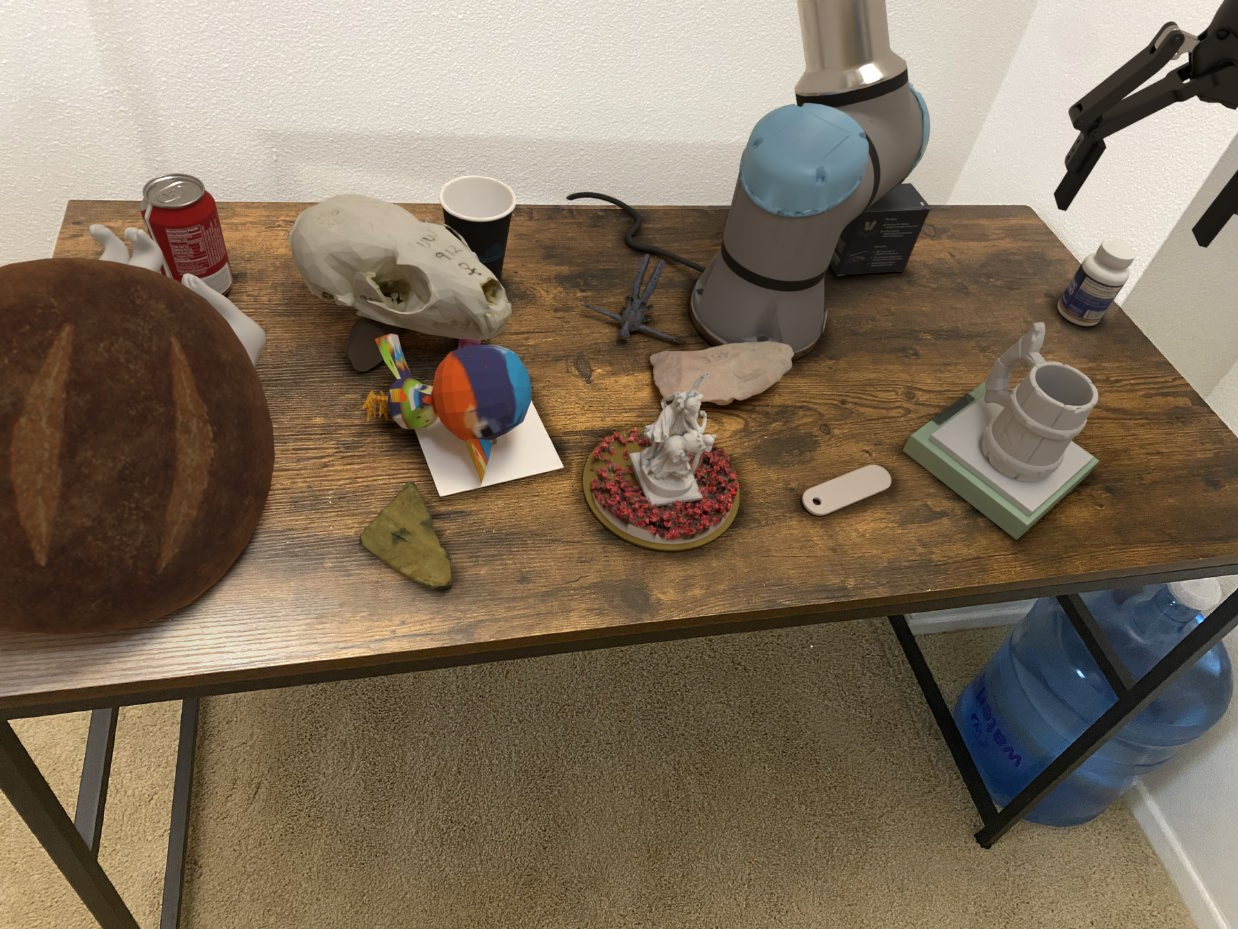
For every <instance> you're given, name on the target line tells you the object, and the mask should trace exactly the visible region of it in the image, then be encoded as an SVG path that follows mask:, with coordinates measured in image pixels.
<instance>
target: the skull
mask: <svg viewBox="0 0 1238 929" xmlns="http://www.w3.org/2000/svg"><path fill="white" fill-rule="evenodd" d="M445 226H446V227H449V226H447V225H445V223H444V222H440V221H435V222H431V219H430V217H426V218H424V219H422V221H421V220H419V219H418V218H417V217H416V216H415V215H414V214H412V213H411V212H409V211H408V210H406V209H405V208H404V207H402V206H401V205H399V204H396V203H392V202H388V201H384V200H380V199H377V198H374V197H370V196H367V195H365V194H358V193H343V194H342V193H341V194H335V195H333V196H331V197H329V198H327V199H325V200H323V201H321V202H319V203H317V204H315V205H313V206H308V207H307V208H305V209H304V210H302V211H301V212H300V213H299V214H298V215H297V217H296V219H295V221H294V224H293V225H292V227H291V228H290V230H289V232H288V244H289V247H290V250H291V256H292V258H291V259H292V261H293V265H294V267H295V268H296V270H297V272H298V273H299V275H300V276H301V278H302V280H303V281H304V283H305V284H306V286H307V288H308V290H309V292H311V293H312V294H313V295H315V296H316V297H318V298H319V299H321V300H323V301H325V302H330V301H335V303H336V306H340V307H341V306H344V307H353V308H354V309H356V310H355V315H356V316H360V317H361V316H363V317H366V318H370V319H373V320H376V321H379V322H381V323H384V324H388V325H393V326H397V327H400V328H403V329H406V330H412V331H416V332H419V333H423V334H427V335H431V336H438V337H446V338H451V339H452V338H453V339H458V340H459V339H476V340H481V341H483V340H485V341H486V342H487V341H488V340H489V339H494V338H496V337H498V336H499V335H500V334H502V333H503V331H504V330H505V328H506V327H507V324H508V322H509V321H510V319H511V316H512V314H513V308H512V303H511V302H510V301H509V299H508V296H507V294H506V289H505V288H504V286H503V285H502V283H501V282H500V280H499V281H498V280H497V278H496V277H495V275H494V274H493V273H492V272H491V271H490V270H489V269H488V268H487V267H485V266H484V265H483V264H482V263H481V262H479V259H478V257H477V255H476V253H474V252H472V251H471V250H470V248H469V247H468V245H467V243H466V241H465V240H464V239H463V237H462V236H461V235H459V234H458V233H457V232H456V231H455V230H453V229H452V228H451V229H452V230H453V231H454V232H455V234H456V235H457V236H459V237H460V238H461V241H462V242H461V241H460V240H459V239H457V238H456V237H455V236H454V235H453V234H452V233H450V232H449V231H448V230H447V229H446V228H445ZM449 228H450V227H449ZM381 292H383V293H387V292H393V293H392V294H391V296H392V298H393V300H394V302H393V301H392V298H390V297H386V296H384V295H383V294H382V293H381ZM398 293H399V295H400V300H404V301H403V302H401V303H399V304H397V301H396V298H397V297H398ZM400 293H401V294H400ZM357 310H358V311H357Z"/></svg>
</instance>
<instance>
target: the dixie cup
mask: <svg viewBox="0 0 1238 929" xmlns="http://www.w3.org/2000/svg"><path fill="white" fill-rule="evenodd" d="M438 201H439V204H440V206H441V208H442V213H443V214H442V215H443V220H444V224H445V225H447V226H449V227H450V228H449V227H446V226H444V227H445V228H446V229H447V230H448V231H449V232H450V233H452V234H453V235H454V236H455V237H456V238H457V239H459V240H460V241H461V238H460V237H459V236H457V235H456V234H455V232H454V231H453V230H455V231H456V232H457V233H458V234H459V235H461V236H462V237H463V239H464V240H465V241H466V243H467V245H468V247H469V248H470V250H471V251H472V252H474V253H476V255H477V257H478V259H479V262H481V263H482V264H483V265H484V266H485V267H487V268H488V269H489V270H490V271H491V272H492V273H493V274H494V275H495V277H496V278H497V280H498V281H499V282H500V281H501V279H502V274H503V267H504V262H505V258H506V256H505V255H506V251H507V246H508V238H509V233H510V228H511V227H510V226H511V222H512V216H513V211H514V210H515V207H516V205H517V197H516V194H515V192H514V190H513V189H512V188H511V187H510V186H509V185H508V184H506V183H505V182H503V181H502V180H499V179H497V178H493V177H490V176H485V175H476V174H475V175H474V174H473V175H464V176H459V177H456V178H453V179H450V180H449V181H447V182H446V183H445V184H443V185H442V187H441V188H440V190H439V192H438ZM451 228H452V229H453V230H452V229H451ZM461 242H462V241H461Z"/></svg>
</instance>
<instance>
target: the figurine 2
mask: <svg viewBox="0 0 1238 929" xmlns="http://www.w3.org/2000/svg"><path fill="white" fill-rule="evenodd" d="M655 258H657V256H655ZM650 259H651V255H650V254H649V253H646V254H644V257H643V258H642V260H641V262H640V265H639V267H638V269H637V272H636V274H635V276H634V279H633V281H632V286H631V295H630V296H629V295H626V296H624V299H625V301H626V307H625V306H621V307H620V310H621V314H622V315H619V314H616V313H614V312H610V311H607V310H605V309H602V308H598V307H595V306H592V305H591V304H590V303H589V302H587V301H585V303H586V304H584V303H579V305H580V306H582V307H585V308H587V309H590V310H591V309H592V310H593V311H595V312H596V313H598V314H601V315H604V316H606V317H608V318H611V319H612V320H614V321H616V322H618V323H619V324H620V326H621V328H620V330H619V331H618V333H617V336H618V338H620V339H621V340H629V338H630V335H631V334H630V332H635V331H642V332H646V333H649V334H653V335H655V336H657V337H661V338H665V339H669V340H670V341H672V342H674V343H678V344H682V341H678V340H677V336H669V335H668V334H666V333H664V332H661V331H659V330H656V329H654V328H651V327H649V326H647V325H645V324H644V323H650V321H652V317H651V316H647V315H646V316H644V313H647V312H650V311H652V310H653V309H654V305H653V304H648V305H647V303H648V301H649V299H651V297H652V295H653V294H654V292H655V291H656V289H657V286H658V283H659V280H660V277H661V274H662V272H663V268H664V265H665V259H659V260H658V261H657V263H656V265H655V267H654V269H653V270H652V273H651V275H650V277H649V279H648V281H647V283H646V285H645V287H644V289H643V291H642V293H641V288H642V285H643V282H644V279H645V276H646V272H647V271H648V270H647V269H648V266H649V264H650V261H651V260H650ZM640 293H641V295H640Z"/></svg>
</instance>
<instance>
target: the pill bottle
mask: <svg viewBox="0 0 1238 929" xmlns="http://www.w3.org/2000/svg"><path fill="white" fill-rule="evenodd" d="M1136 257H1137V251H1136V250H1135V248H1134V247H1133V246H1132V245H1130V244H1128V243H1127V242H1125V241H1123V240H1121V239H1117V238H1106V239H1104V240H1103V241H1102V242H1101V243H1100V244H1099V246H1098V247H1097V250H1096V252H1092V253H1090V254H1088V255H1087V256H1085V257H1084V259H1083V261H1081V264H1080V265H1079V267H1078V269H1077V270H1076V272H1075V273H1074V275H1073V276H1072V278H1071V280H1070V281H1069V283H1068V285H1067V286H1066V288H1065V289H1064V291H1063V293H1062V294H1061V296H1060V298H1059V299H1058V302H1057V309H1058V312H1059V314H1060V315H1061V316H1062V317H1063V318H1064V319H1066V320H1067V321H1069V322H1071V323H1073V324H1075V325H1077V326H1082V327H1092V326H1096V325H1097V324H1099V323H1100V321H1101V320H1102V318H1103V317H1104V315H1105V314H1106V312H1107V311H1108V309H1109V308H1110V307H1111V305H1112V304H1113V302H1114V300H1115V299H1116V298H1117V296H1118V294H1119V293H1120V292H1121V291H1122V289H1123V288H1124V287H1125V284H1126V283H1127V282H1128V280H1129V279H1130V275H1131V272H1130V268H1129V267H1130V266H1132V264H1133V262H1134V260H1135V259H1136Z"/></svg>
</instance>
